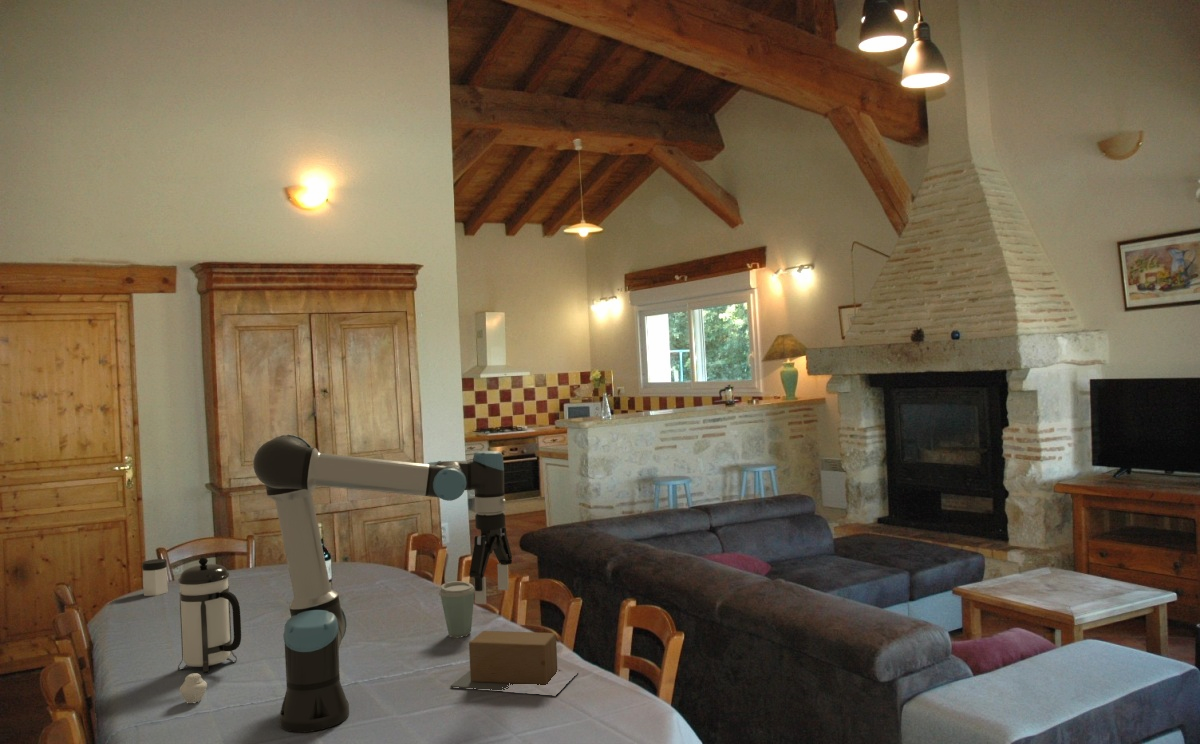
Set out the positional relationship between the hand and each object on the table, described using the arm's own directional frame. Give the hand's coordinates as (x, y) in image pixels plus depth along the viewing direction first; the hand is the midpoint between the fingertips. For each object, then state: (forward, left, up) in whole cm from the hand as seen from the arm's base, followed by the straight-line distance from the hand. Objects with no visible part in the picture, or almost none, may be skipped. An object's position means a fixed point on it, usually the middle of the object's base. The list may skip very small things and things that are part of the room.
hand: (492, 596), depth 222 cm
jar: (+58, +166, -21) cm, 177 cm away
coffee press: (-6, +83, -21) cm, 86 cm away
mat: (0, -5, -21) cm, 22 cm away
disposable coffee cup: (+32, +27, -21) cm, 47 cm away
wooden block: (0, +5, -15) cm, 16 cm away
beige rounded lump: (-29, +68, -21) cm, 77 cm away
